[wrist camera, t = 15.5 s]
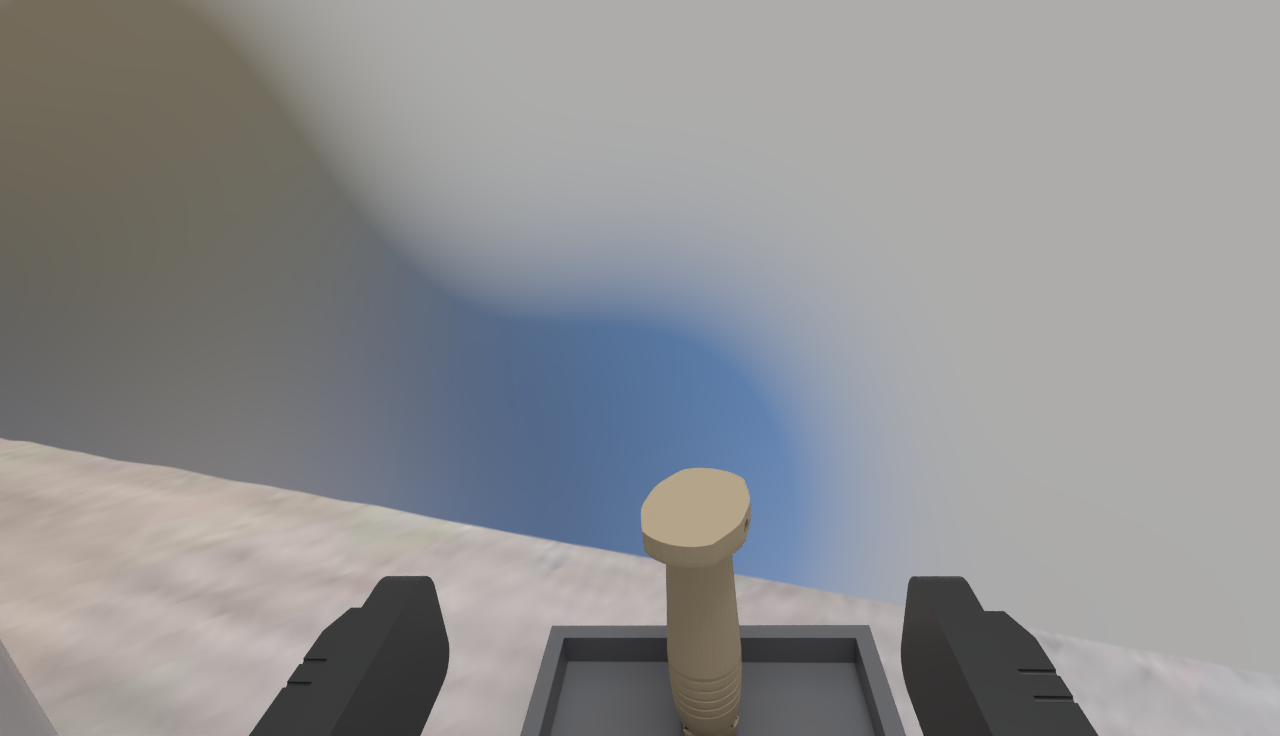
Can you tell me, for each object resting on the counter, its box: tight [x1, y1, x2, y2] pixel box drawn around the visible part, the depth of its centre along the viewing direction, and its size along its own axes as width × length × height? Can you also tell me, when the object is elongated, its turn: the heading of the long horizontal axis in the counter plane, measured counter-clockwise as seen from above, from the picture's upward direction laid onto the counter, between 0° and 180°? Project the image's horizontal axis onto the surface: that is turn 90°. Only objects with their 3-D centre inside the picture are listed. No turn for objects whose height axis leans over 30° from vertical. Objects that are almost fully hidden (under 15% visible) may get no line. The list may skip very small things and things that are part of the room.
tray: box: [521, 625, 906, 736], centre depth 35 cm, size 20×11×3 cm, turn 85°
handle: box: [641, 468, 751, 736], centre depth 32 cm, size 5×6×15 cm
